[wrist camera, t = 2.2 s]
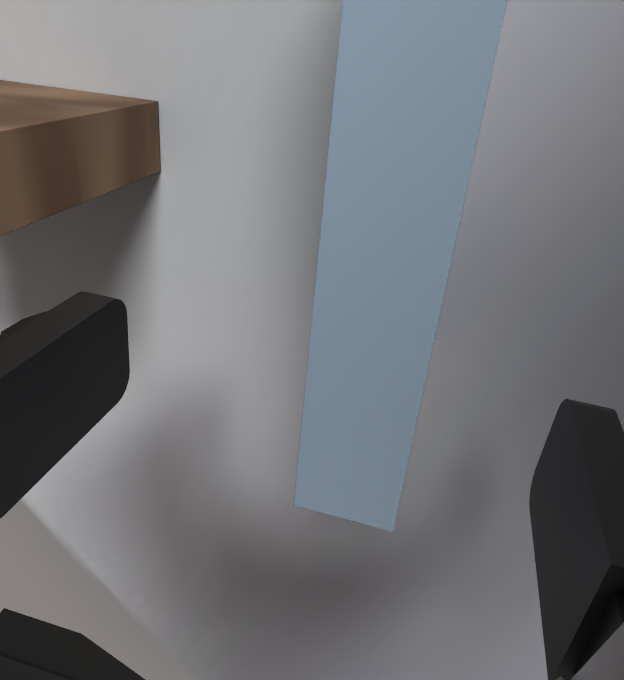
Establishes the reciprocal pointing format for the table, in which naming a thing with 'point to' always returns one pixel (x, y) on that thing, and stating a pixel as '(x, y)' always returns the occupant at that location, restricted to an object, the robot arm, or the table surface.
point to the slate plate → (388, 239)
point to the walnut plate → (69, 148)
